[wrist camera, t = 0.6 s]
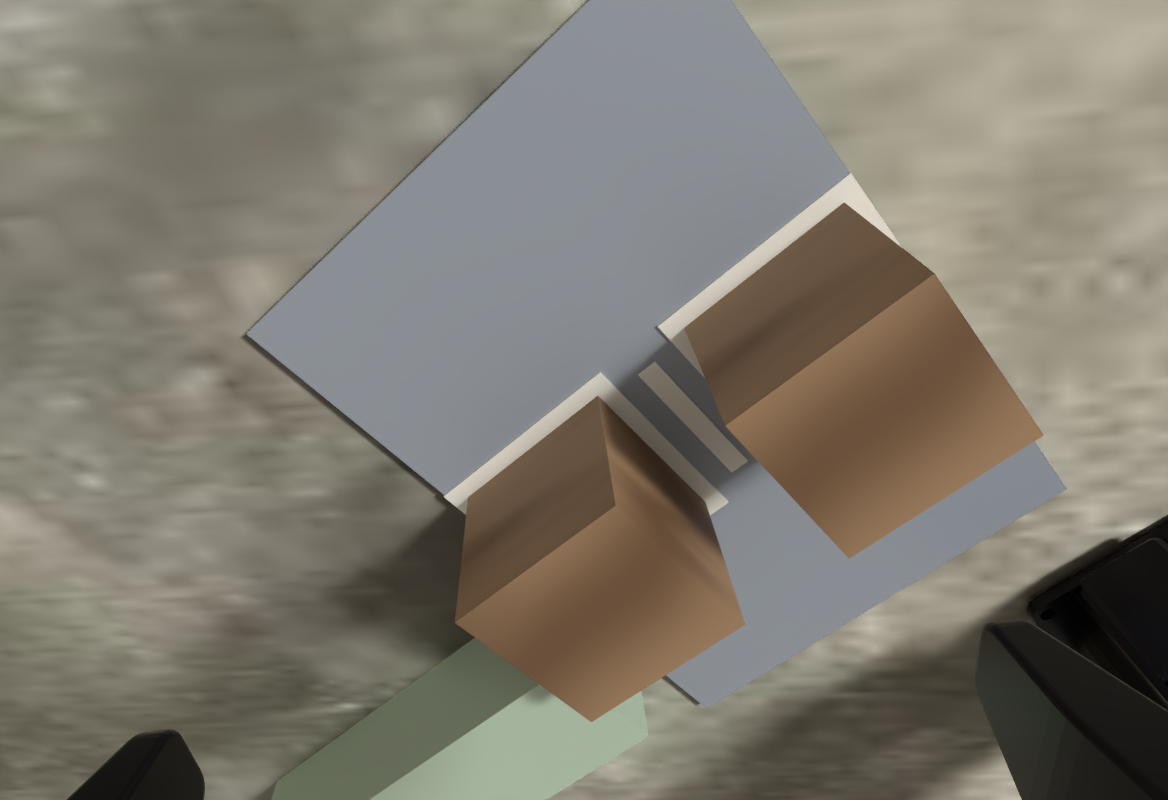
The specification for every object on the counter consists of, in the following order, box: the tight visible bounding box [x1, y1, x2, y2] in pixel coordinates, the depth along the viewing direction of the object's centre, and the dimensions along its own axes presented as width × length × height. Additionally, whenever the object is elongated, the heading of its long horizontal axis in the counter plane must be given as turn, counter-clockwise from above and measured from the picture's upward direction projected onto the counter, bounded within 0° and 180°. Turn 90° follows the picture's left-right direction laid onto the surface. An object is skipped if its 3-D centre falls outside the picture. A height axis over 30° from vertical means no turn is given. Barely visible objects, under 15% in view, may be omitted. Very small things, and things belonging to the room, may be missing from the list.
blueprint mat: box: [247, 0, 1067, 708], centre depth 23 cm, size 20×14×1 cm
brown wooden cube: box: [684, 202, 1043, 558], centre depth 19 cm, size 5×5×5 cm
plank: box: [271, 638, 648, 800], centre depth 27 cm, size 4×14×4 cm, turn 132°
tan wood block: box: [455, 396, 745, 722], centre depth 21 cm, size 5×5×5 cm
